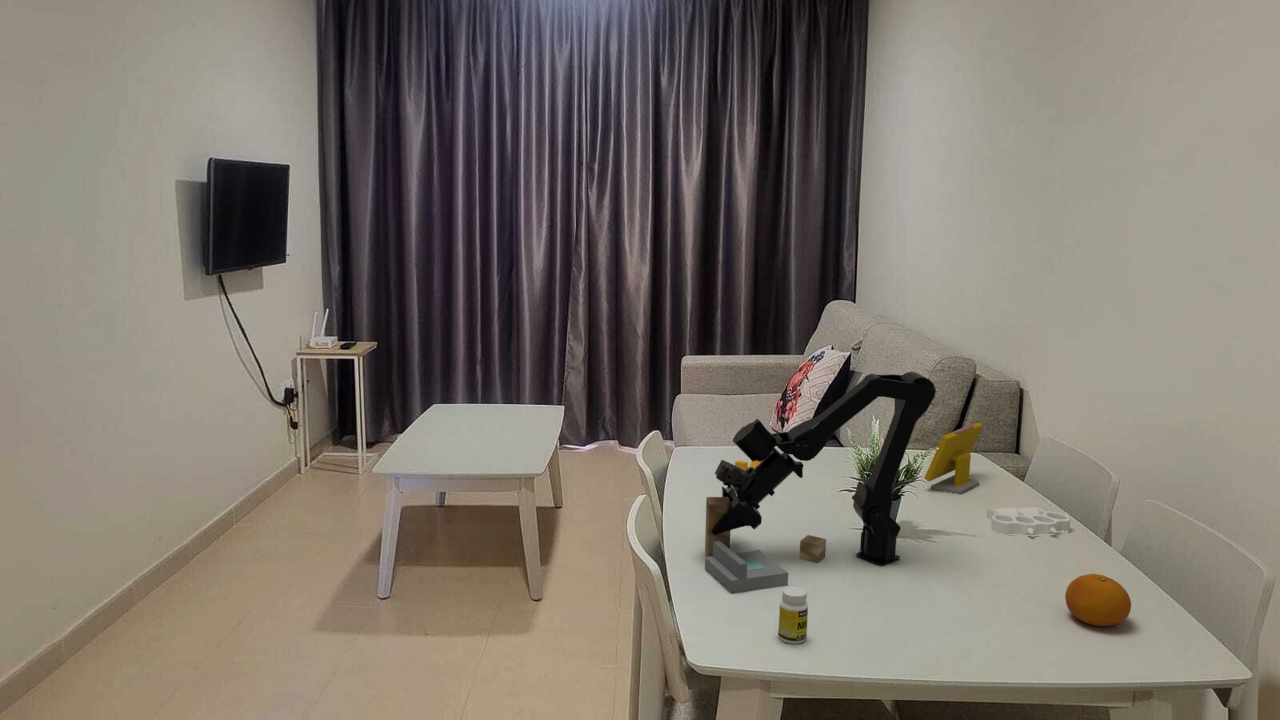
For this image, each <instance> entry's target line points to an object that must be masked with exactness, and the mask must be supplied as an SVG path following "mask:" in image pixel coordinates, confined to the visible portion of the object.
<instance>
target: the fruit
mask: <svg viewBox="0 0 1280 720" xmlns="http://www.w3.org/2000/svg"><path fill="white" fill-rule="evenodd" d="M1064 598H1065V603H1066V607H1067V609H1068V610H1069V612H1071V614H1072V615H1073V616H1074V617H1076V618H1077V619H1078V620H1080V621H1081V622H1083V623H1086V624H1088V625H1093V626H1097V627H1109V626H1114V625H1117V624H1121V623H1122V622H1124V621H1125V620H1126V619H1127V618H1128V617H1129V615H1130V613H1131V609H1132V600H1131V597H1130V595H1129V594H1128V592H1127V590H1126V589H1125V588H1124V587H1123V585H1122V584H1120V583H1119V582H1118V581H1116V580H1115V579H1113V578H1111V577H1108V576H1107V575H1103V574H1100V573H1099V574H1097V573H1089V574H1088V573H1087V574H1083V575H1080V576H1078V577H1076V578H1075V579H1073V580H1072V581H1071V582H1070V583H1069V584H1068V586H1067V587H1066V590H1065V597H1064Z"/></svg>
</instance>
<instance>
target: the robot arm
mask: <svg viewBox="0 0 1280 720" xmlns="http://www.w3.org/2000/svg"><path fill="white" fill-rule="evenodd" d="M936 393H937V391H936V386H935V384H934V382H933V381H931V379H929V378H927V377H925V376H924V375H922V374H921V373H918V372H916V371H908V372H906V373H903V374H891V373H889V374H876V373H869V374H867V375H866V376H864V378H862V380H860V382H858V383H857V384H855V386H854V387H852V388H851V389H850V390H849V391H847V392H846V393H845V394H843V395H842V396H841V397H840V398H838V399H837V400H836V401H835V402H834V403H832V404H831V405H830V406H829V407H828V408H826V409H825V410H824V411H823V412H822V413H820V414H819V415H817V416H815V417H812V418H810V419H807V420H805V421H802V422H801V423H799V424H797V425H795V426H794V427H792V428H791V429H789V430H788V431H783V432H776V433H771V432H770V431H769V430H768V429H767V428H766V427H765V425H764V424H763V423H762V421H761V420H760V419H758V418H756V419H755V420H754V421H753V422H749V423H748V424H746V425H745V426H742V427H741V428H740V429H739V430H737V432H736V434H734V437H733V438H732V442H733V444H735V446H737V447H738V449H740V451H742V453H744V454H745V455H746V457H748V459H749V460H750V461H756V460H757V461H758V462H759V461H762V462H761V463H760V464H759V465H758V466H757V467H755V468H753V467H750V466H748V469H747V470H746V471H745V470H743V469H741V468H739V467H737V466H735V464H733V463H730V462H728V461H726V460H724V459H721V460H720V463H719V464H718V466H717V468H716V470H715V472H714V474H715V479H717V480H718V481H720V482H722V484H723V485H724V486H723V485H722V486H721V497H729V500H730V502H731V503H730V502H729V501H728V502H727V512H726V513H725V514H724V515H723V517H722V518H721V519H720V520H719V521H718V523H717V524H716V525H715V526H714V528H713V529H712V531H711V532H712V533H713V534H714V535H717V534H720V533H723V532H726V531H730V532H731V531H732V530H735V529H740V528H744V527H751V528H752V530H756V529H757V528H758V527H759V526H760V525H762V520H763V519H762V514H761V513H760V511H759V509H760V508H761V506H760V503H761V502H762V501H764V499H765V498H767V497H768V496H770V497H773V496H774V495H775V493H776V492H775V489H776V488H777V487H778V486H779V485H781V484H782V483H783V482H784V481H785V480H786V479H787V478H788V477H789V476H790V475H791V474H792V473H794V474H795V475H796V476H797V477H798V478H799V479H803V476H804V475H803V474H804V471H803V469H804V466H805V465H804V463H803V461H804V462H808V461H811V460H813V459H815V458H816V456H818V455H819V453H820V452H821V451H822V450H823V448H825V446H827V444H828V442H829V440H830V438H831V436H833V435H834V433H835V432H837V431H838V430H839V429H840V428H842V427H843V426H844V425H845V424H846V423H848V422H849V421H850V420H851V419H853V418H854V417H855V416H856V415H858V414H859V413H861V411H863V410H864V409H865V408H867V407H868V406H869V405H870V404H872V403H873V402H874V401H875V400H877V398H879V397H880V398H881V397H882V398H888V399H893V400H894V413H893V415H892V418H891V421H890V424H889V427H888V429H887V432H886V435H885V438H884V441H883V444H882V446H881V449H880V451H879V454H878V456H877V459H876V463H875V465H874V468H873V470H872V473H871V475H870V477H869V478H868V479H867V481H865V483H864V482H862V481H861V480H860V481H857V484H856V490H855V493H854V494H853V495H852V496H851V499H852V500H853V502H852V503H853V504H852V505H853V509H854V511H855V514H857V516H858V517H859V518H860V520H862V522H863V523H864V524H865V525H863V526H862V531H861V533H860V549H859V550H860V552H857V553H855V554H856V556H855V557H858V558H859V559H863V560H865V561H867V562H870V563H873V564H876V565H878V566H884V565H886V564H890V563H893V562H895V561H898V560H900V559H901V556H900V555H897V554H896V553H897V552H896V551H897V549H896V547H897V537H898V536H899V533H900V531H901V526H900V525H899V523H897V521H896V520H895V519H894V518H893V517H892V516H891V514H892V513H891V512H892V506H893V486H894V483H895V480H896V477H897V475H898V472H899V470H900V466H901V464H902V461H903V459H904V456H905V454H906V451H907V448H908V445H909V442H910V440H911V437H912V435H913V432H914V428H915V426H916V424H917V422H918V421H919V420H920V418H921V417H922V416H923V415H925V413H926V412H927V411H928V409H929V408H930V406H931V404H932V402H933V401H934V399H935V397H936ZM776 447H777V448H778V449H777V448H776ZM779 450H780V451H781V452H782V453H781V452H780V451H779ZM792 455H793V457H792ZM794 458H796V459H797V460H799V461H797V460H795V459H794ZM725 486H727V487H726V488H725Z"/></svg>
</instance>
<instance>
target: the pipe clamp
mask: <svg viewBox="0 0 1280 720" xmlns="http://www.w3.org/2000/svg"><path fill="white" fill-rule="evenodd" d="M761 462H762V461H759V462H758V461H757V460H756V461H752V460H750V465H749V466H748V461H745V460H744V461H743V460H739V459H738V460H736V461H734V465H735V466H737V467H739V468H741V469H743V470H745V471H746V470H747V469H748V468H749V467H753V468H755V467H757V466H758V465H759V464H760V463H761Z"/></svg>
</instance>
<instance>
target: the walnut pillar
mask: <svg viewBox="0 0 1280 720" xmlns="http://www.w3.org/2000/svg"><path fill="white" fill-rule="evenodd" d="M728 501H729V502H730V500H729V497H722V496H706V504H705V534H704V535H705V537H704V538H705V539H704V541H705V542H704V543H705V544H704V545H705V546H704V556H706V557H710V556H713V542H716V541H721V542H722V543H723V544H724V545H725V546H727V547H728V548H729V549H730V550H731V530H730V531H726V532H723V533H720V534H717V535H714V534H713V533H712V532H711V531H712V529H713V528H714V526H715V525H716V524H717V523H718V521H719V520H720V519H721V518H722V517H723V515H724V514H725V513H726V512H727V502H728ZM730 503H731V502H730Z"/></svg>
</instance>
